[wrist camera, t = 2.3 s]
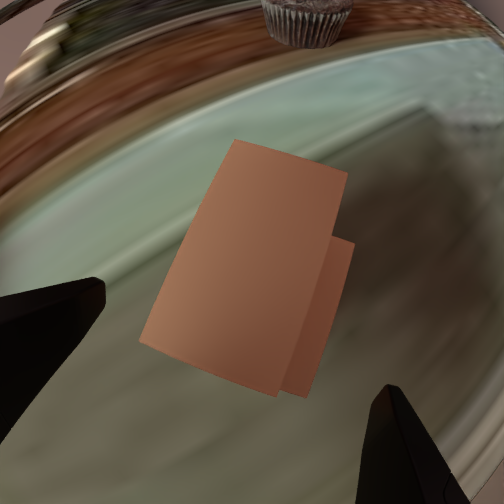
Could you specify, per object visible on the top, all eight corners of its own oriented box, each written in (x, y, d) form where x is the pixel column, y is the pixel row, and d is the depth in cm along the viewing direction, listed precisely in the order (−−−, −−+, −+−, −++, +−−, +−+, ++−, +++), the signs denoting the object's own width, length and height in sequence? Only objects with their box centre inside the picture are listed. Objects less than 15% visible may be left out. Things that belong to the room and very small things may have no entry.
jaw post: (280, 381, 17) (333, 415, 5) (205, 353, 17) (94, 317, 5) (306, 308, 18) (392, 189, 6) (234, 282, 19) (193, 129, 7)
